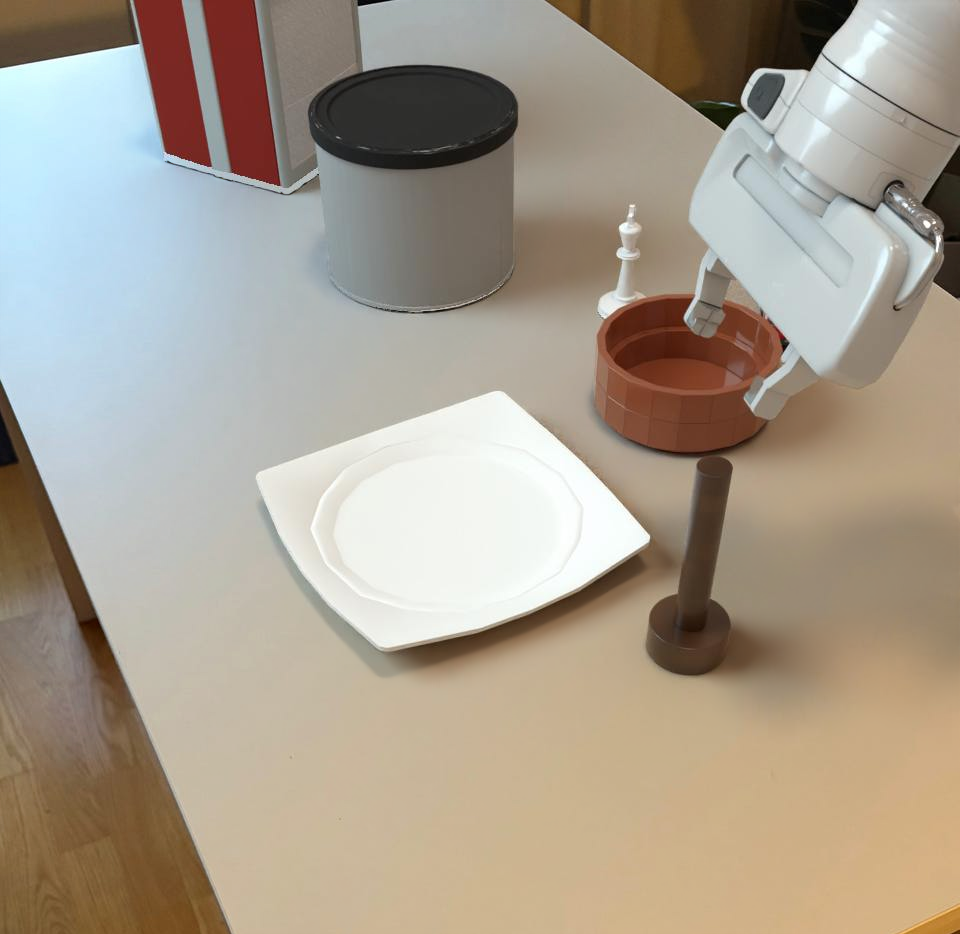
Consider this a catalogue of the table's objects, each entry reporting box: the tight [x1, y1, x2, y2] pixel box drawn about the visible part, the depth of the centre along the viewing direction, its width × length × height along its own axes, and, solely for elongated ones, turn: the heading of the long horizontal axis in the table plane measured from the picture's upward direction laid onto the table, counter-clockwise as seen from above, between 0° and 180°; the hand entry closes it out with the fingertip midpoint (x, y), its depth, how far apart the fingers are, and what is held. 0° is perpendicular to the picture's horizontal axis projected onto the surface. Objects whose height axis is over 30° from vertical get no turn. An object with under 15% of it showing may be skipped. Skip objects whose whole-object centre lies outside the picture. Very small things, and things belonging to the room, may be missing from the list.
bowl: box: [592, 293, 784, 453], centre depth 102 cm, size 15×15×6 cm
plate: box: [255, 390, 651, 653], centre depth 93 cm, size 24×24×3 cm
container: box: [308, 64, 519, 311], centre depth 115 cm, size 19×19×15 cm
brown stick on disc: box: [645, 455, 734, 676], centre depth 80 cm, size 6×6×16 cm
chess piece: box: [597, 204, 647, 320], centre depth 110 cm, size 5×5×10 cm
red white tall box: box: [129, 0, 364, 188], centre depth 127 cm, size 16×18×27 cm
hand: (725, 369), depth 74 cm, fingers open, 8 cm apart
